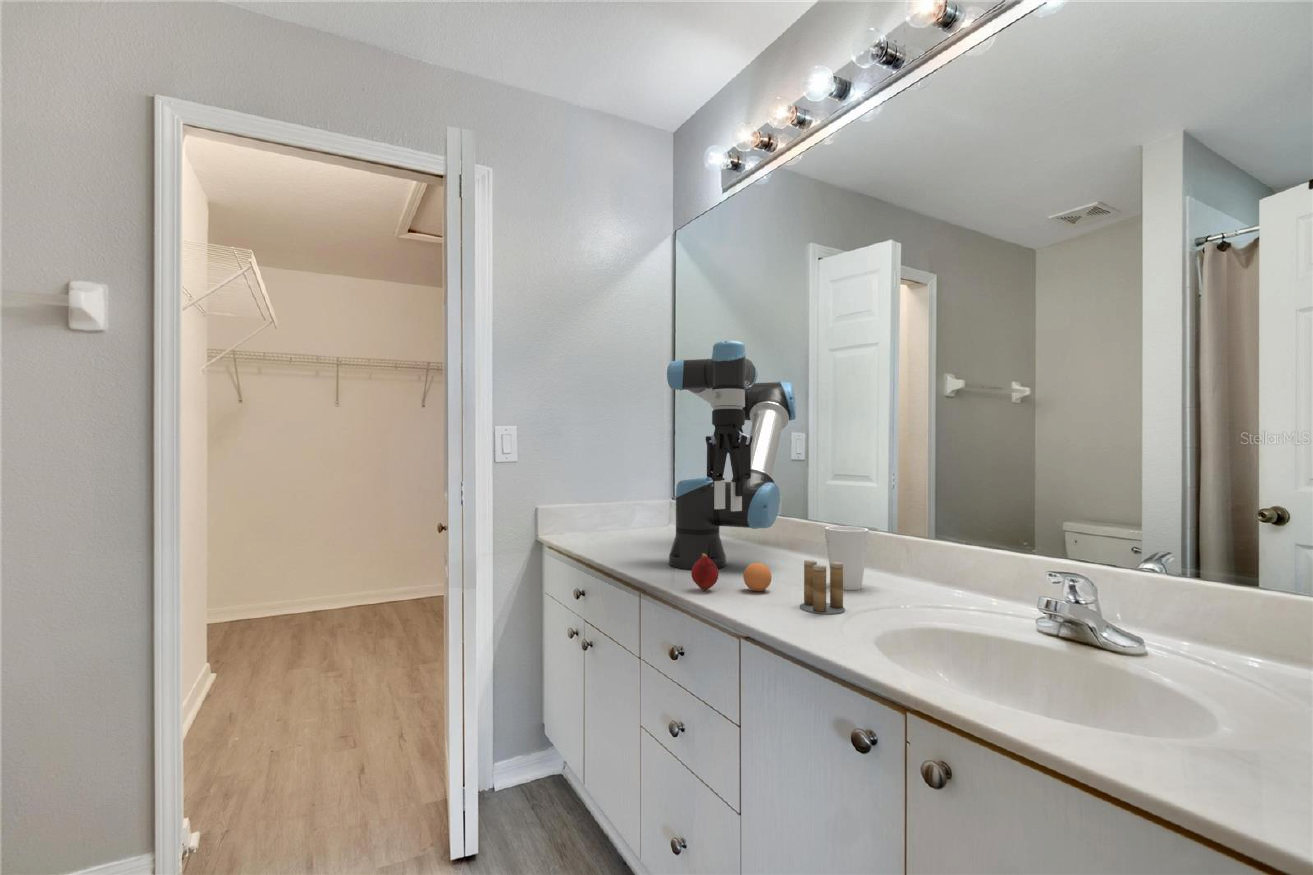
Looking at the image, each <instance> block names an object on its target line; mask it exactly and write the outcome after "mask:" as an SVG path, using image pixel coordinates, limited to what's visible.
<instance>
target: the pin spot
mask: <svg viewBox="0 0 1313 875" xmlns="http://www.w3.org/2000/svg"><path fill="white" fill-rule="evenodd" d="M799 608H800V609H801V610H802V611H805V612H808V613H812V614H817V615H837V614H843V613H844V612H845V611H846V608H845V607H844V606H843V608H841V609H836V608H831V607H830V602H826V612H815V611H813V606H810V605H805V604H804V602H803V603H801V604H799Z"/></svg>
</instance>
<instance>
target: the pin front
mask: <svg viewBox="0 0 1313 875" xmlns="http://www.w3.org/2000/svg"><path fill="white" fill-rule="evenodd" d="M803 561H804V562H803V603H804V604H805V605H810V606H813V565H818V562H817V560H814V559H813V560H812V559H805V560H803Z"/></svg>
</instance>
